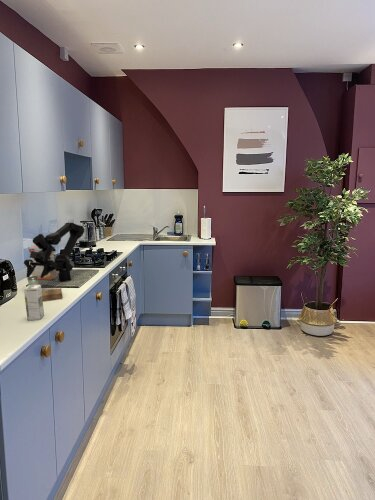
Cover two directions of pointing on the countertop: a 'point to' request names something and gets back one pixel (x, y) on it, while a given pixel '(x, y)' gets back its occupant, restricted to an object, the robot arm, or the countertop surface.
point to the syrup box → (34, 302)
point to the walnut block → (52, 294)
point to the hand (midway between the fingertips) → (34, 277)
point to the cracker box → (39, 269)
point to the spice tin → (33, 280)
